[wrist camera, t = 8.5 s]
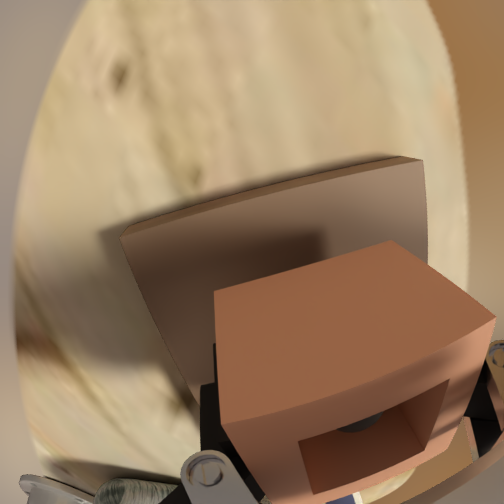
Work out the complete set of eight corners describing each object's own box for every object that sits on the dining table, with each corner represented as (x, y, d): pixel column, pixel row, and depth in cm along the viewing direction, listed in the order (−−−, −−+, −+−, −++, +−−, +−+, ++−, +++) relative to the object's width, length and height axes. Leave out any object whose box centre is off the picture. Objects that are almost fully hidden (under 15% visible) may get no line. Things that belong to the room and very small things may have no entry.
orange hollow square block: (390, 366, 12) (446, 449, 7) (258, 410, 12) (279, 514, 7) (391, 239, 10) (496, 316, 5) (213, 291, 9) (220, 424, 5)
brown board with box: (395, 424, 20) (434, 494, 13) (249, 470, 19) (263, 552, 12) (403, 156, 12) (543, 193, 5) (129, 225, 12) (43, 338, 5)
